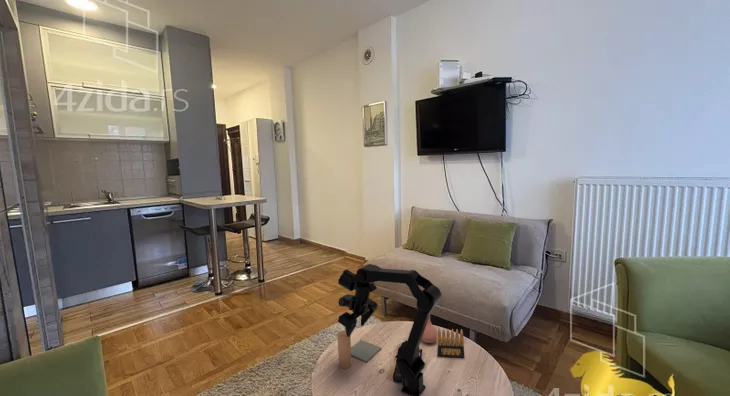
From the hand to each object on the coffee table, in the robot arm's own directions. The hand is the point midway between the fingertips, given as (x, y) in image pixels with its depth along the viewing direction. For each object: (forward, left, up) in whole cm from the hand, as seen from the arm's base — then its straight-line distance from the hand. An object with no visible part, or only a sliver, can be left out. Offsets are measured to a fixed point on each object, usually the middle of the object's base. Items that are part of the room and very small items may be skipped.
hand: (355, 330), depth 119 cm
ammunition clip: (-29, -26, -15) cm, 41 cm away
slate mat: (+3, -9, -15) cm, 17 cm away
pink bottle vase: (-17, -31, -15) cm, 38 cm away
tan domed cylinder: (+4, +2, -15) cm, 15 cm away
